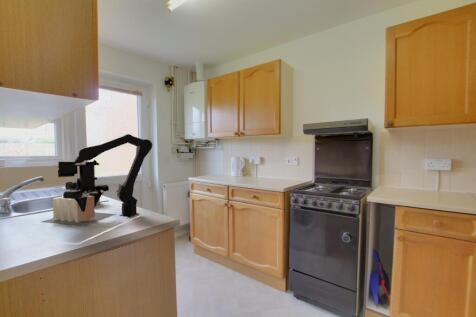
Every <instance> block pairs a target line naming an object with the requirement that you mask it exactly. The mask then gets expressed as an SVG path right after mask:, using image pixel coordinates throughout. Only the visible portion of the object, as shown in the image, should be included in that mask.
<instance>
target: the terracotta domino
mask: <svg viewBox="0 0 476 317" xmlns="http://www.w3.org/2000/svg"><path fill="white" fill-rule="evenodd" d="M95 210H96V207H95V208H94V196H88V197H87V202H86V208H85V212H82V221H86V220H89V219H92V218H94V217H95V212H96V211H95Z"/></svg>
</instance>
